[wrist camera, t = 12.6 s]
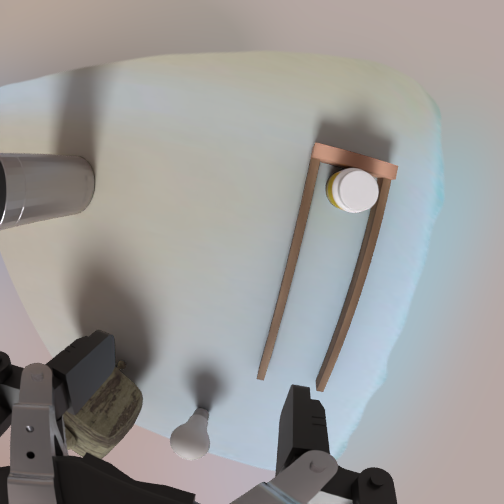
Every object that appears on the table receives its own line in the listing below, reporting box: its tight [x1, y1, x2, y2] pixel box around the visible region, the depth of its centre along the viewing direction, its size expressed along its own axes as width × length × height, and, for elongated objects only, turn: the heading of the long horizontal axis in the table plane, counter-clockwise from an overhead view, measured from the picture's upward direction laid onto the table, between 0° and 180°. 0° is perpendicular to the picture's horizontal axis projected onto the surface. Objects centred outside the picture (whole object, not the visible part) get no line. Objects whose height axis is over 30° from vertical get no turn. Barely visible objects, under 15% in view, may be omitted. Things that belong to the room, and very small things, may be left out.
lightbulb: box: [170, 408, 210, 460], centre depth 40 cm, size 6×6×11 cm
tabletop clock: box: [63, 361, 143, 459], centre depth 34 cm, size 14×9×25 cm, turn 52°
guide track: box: [257, 143, 398, 392], centre depth 36 cm, size 10×32×4 cm, turn 168°
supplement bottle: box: [326, 168, 379, 213], centre depth 31 cm, size 5×5×8 cm
